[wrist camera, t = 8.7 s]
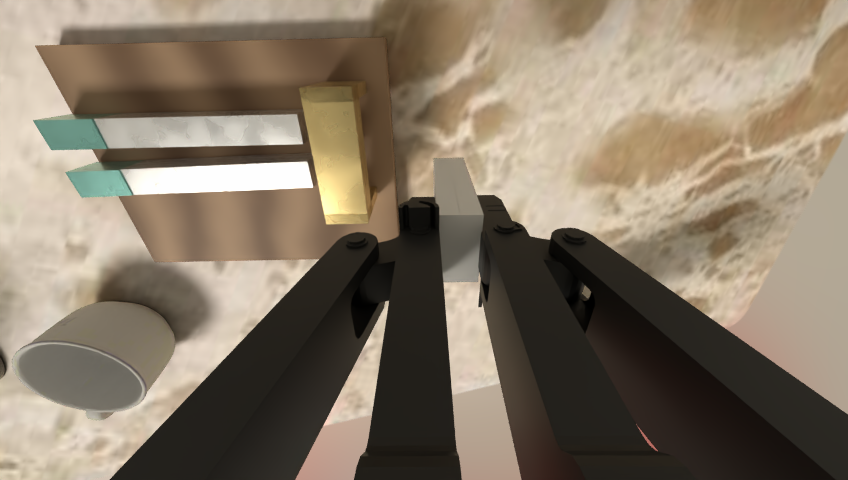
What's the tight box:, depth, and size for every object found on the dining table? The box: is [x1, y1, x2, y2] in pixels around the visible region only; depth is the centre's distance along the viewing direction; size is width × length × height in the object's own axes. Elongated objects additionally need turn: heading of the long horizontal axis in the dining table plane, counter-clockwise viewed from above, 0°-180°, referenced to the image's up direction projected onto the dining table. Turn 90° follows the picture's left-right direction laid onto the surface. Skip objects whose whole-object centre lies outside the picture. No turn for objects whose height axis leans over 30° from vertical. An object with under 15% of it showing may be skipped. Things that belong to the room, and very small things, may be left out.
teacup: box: [12, 301, 175, 421], centre depth 34 cm, size 14×11×8 cm
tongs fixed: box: [33, 109, 309, 150], centre depth 23 cm, size 21×4×3 cm, turn 91°
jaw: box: [65, 153, 318, 197], centre depth 25 cm, size 18×2×3 cm, turn 92°
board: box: [35, 37, 400, 262], centre depth 27 cm, size 24×18×2 cm
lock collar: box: [299, 81, 378, 224], centre depth 22 cm, size 3×9×5 cm, turn 1°
